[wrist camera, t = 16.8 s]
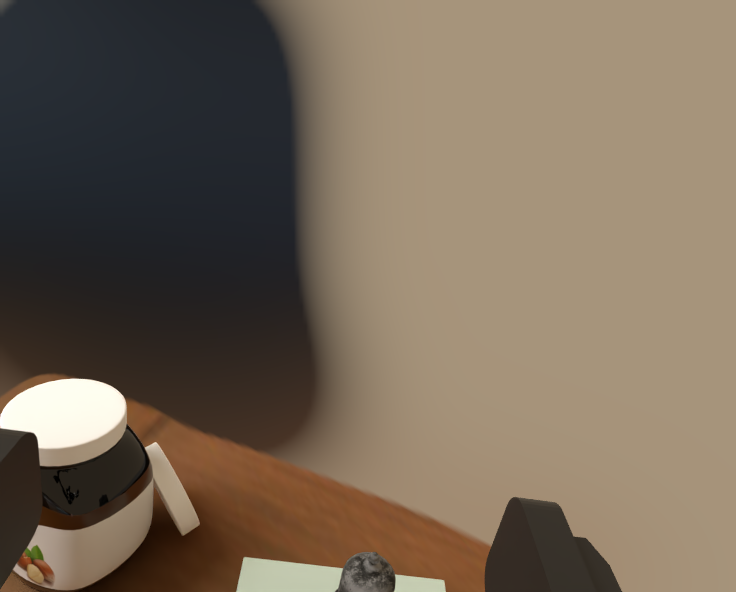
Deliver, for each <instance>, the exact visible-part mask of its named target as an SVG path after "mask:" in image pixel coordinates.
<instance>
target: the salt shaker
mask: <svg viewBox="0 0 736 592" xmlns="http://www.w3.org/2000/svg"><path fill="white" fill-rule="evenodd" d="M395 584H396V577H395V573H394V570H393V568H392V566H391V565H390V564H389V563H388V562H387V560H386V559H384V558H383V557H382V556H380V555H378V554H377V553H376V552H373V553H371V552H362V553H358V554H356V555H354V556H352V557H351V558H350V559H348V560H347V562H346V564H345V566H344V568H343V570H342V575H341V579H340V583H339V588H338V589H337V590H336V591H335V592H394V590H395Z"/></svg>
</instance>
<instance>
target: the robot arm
mask: <svg viewBox="0 0 736 592" xmlns="http://www.w3.org/2000/svg"><path fill="white" fill-rule="evenodd" d="M42 504H43V502H42V487H41V474H40V461H39V448H38V440H37V437H36V435H35V434H34V433H32V432H25V431H18V430H10V429H3V428H0V589H1V587H2V586H3V584H4V583H5V581H6V579H7V578H8V576H9V575H10V573H11V572H12V570H13V569H14V567H15V565H16V564H17V562H18V561H19V559H20V558H21V556H22V554H23V553H24V551H25V550H26V548H27V547H28V545H29V543H30V542H31V540H32V538H33V536H34V534H35V532H36V529H37V527H38V524H39V520H40V517H41V512H42ZM485 592H622V591H621V589H620V587H619V585H618V582H617V580H616V578H615V576H614V574H613V572H612V570H611V567H610V565H609V564H608V563H607V562H606V561H605V560H604V558H603V557H602V556H601V555H600V554H599V553H598V551H597V550H596V549H595V548H594V547H593V546H592V544H591V543H590V542H589V541H588V540H587V539H586V538H580V537H573V535H572V532H571V530H570V528H569V525H568V523H567V520H566V518H565V516H564V513H563V511H562V509H561V507H560V506H559V505H558V504H557V503H555V502H548V501H540V500H533V499H525V498H517V497H513V498H512V499H511V500H510V501H509V503H508V505H507V507H506V510H505V513H504V515H503V518H502V520H501V523H500V526H499V528H498V531H497V533H496V536H495V539H494V541H493V544H492V547H491V549H490V552H489V555H488V558H487V562H486V567H485Z"/></svg>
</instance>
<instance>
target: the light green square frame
mask: <svg viewBox="0 0 736 592" xmlns="http://www.w3.org/2000/svg"><path fill="white" fill-rule="evenodd" d="M342 570H343V568H334V567H326V566H317V565H308V564H300V563H291V562H283V561H274V560H265V559H257V558H248V557H244V559H243V563H242V568H241V573H240V577H239V582H238V586H237V591H236V592H335V591H336V590H337V589H338V588H339V583H340V579H341V575H342ZM395 577H396V584H395V590H394V592H446V590H445V584H444V580H437V579H429V578H420V577H412V576H403V575H395Z"/></svg>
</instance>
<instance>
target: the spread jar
mask: <svg viewBox="0 0 736 592" xmlns="http://www.w3.org/2000/svg"><path fill="white" fill-rule="evenodd" d="M0 427H1V428H3V429H10V430H18V431H25V432H32V433H34V434H35V435H36V437H37V440H38V448H39V461H40V474H41V487H42V502H43V504H42V512H41V517H40V520H39V524H38V527H37V529H36V532H35V534H34V536H33V538H32V540H31V542H30V543H29V545H28V547H27V548H26V550H25V551H24V553H23V554H22V556H21V558H20V559H19V561H18V562H17V564H16V565H15V567H14V569H13V570H12V572H13V573H14V574H15V575H16V576H17V577H18V578H19V579H20V580H21V581H23V582H24V583H26V584H27V585H29V586H31V587H33V588H35V589H38V590H41V591H45V592H76V591H80V590H83V589H85V588H88V587H90V586H92V585H94V584H96V583H97V582H99V581H101V580H102V579H104V578H106V577H107V576H109V575H110V574H111V573H113V572H114V571H115V570H117V569H118V568H119V567H120V566H121V565H123V564H124V563H125V562H126V561H127V560H128V559H129V558H130V557H131V555H132V554H133V553H134V552H135V551H136V549H137V548H138V547H139V546H140V544H141V543H142V542H143V540H144V539H145V537H146V535H147V533H148V531H149V528H150V525H151V521H152V514H153V491H154V487H153V484H154V486H155V488H156V490H157V492H158V494H159V496H160V498H161V500H162V501H163V503H164V505H165V507H166V509H167V511H168V512H169V514H170V516H171V518H172V519H173V521H174V523H175V525H176V526H177V528H178V530H179V531H180V533H181V534H182V535H183V536H184V535H185V534H187V533H188V532H190V531H191V530H193V529H194V528H196V527H197V526H199V525H200V522H199V519H198V517H197V514H196V512H195V510H194V508H193V506H192V504H191V502H190V500H189V498H188V496H187V494H186V492H185V490H184V488H183V486H182V484H181V482H180V480H179V479H178V477H177V475H176V473H175V471H174V470H173V468H172V466H171V464H170V463H169V461H168V459H167V458H166V456H165V454H164V453H163V451H162V450H161V448H160V447H159V445H158V444H157V443H156V442H155V443H153V444H151V445H149V446H147V447H146V448H145V447H144V446H143V444H142V442H141V441H140V439H139V438H138V437H137V435H136V434H135V433H134V431H133V430H132V429H131V428H130V427H129V425H128V424H127V406H126V401H125V399H124V397H123V395H122V394H121V393H120V392H119V391H118V390H116V389H115V388H113V387H112V386H109V385H107V384H105V383H102V382H98V381H94V380H86V379H65V380H57V381H52V382H47V383H44V384H40V385H37V386H35V387H32V388H30V389H28V390H26V391H24V392H22V393H20V394H19V395H17V396H16V397H15V398H14V399H12V400H11V401H10V402H9V403H8V404H7V405H6V407H5V408H4V410H3V412H2V414H1V418H0Z"/></svg>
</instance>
